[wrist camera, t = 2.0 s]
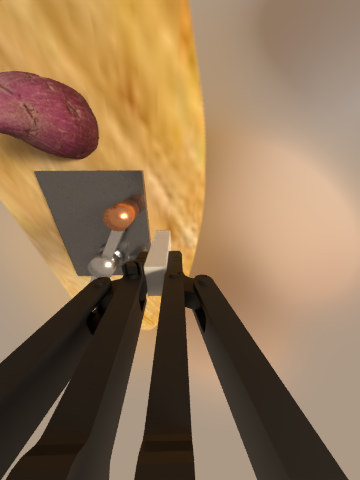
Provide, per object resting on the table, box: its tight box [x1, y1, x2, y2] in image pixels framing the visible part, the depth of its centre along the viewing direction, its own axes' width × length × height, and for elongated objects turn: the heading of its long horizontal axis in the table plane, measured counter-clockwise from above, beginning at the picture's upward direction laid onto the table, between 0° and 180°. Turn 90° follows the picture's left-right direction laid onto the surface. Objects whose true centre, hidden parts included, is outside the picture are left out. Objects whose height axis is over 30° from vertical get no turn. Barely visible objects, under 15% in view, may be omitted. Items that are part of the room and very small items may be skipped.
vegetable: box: [0, 71, 99, 159], centre depth 20 cm, size 10×10×15 cm
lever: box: [88, 199, 139, 282], centre depth 29 cm, size 22×5×7 cm, turn 150°
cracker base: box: [34, 171, 151, 276], centre depth 30 cm, size 25×20×7 cm
